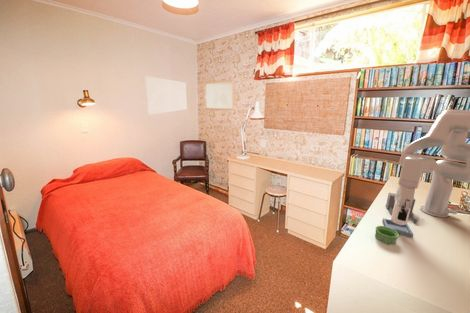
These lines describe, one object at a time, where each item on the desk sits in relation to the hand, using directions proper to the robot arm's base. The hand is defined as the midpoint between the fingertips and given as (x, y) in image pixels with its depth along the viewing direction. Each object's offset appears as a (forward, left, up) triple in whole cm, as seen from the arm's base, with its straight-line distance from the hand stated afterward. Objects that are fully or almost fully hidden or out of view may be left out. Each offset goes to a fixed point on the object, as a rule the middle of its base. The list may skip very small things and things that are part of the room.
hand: (399, 216), depth 111 cm
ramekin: (+7, +13, -8) cm, 16 cm away
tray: (0, 0, -7) cm, 7 cm away
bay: (-6, -20, -7) cm, 22 cm away
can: (0, 0, -3) cm, 3 cm away
